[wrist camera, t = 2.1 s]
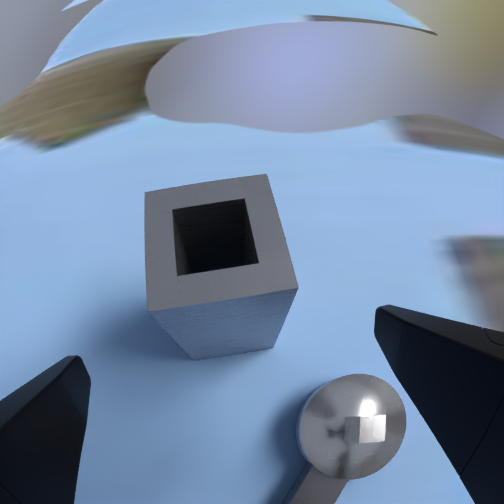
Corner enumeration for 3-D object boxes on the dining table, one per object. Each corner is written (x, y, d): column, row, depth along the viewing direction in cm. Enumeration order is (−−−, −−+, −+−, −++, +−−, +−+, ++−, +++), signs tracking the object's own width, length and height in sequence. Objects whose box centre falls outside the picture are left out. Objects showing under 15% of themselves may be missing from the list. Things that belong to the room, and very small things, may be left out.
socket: (273, 347, 19) (298, 287, 10) (193, 360, 19) (147, 311, 10) (257, 275, 22) (266, 173, 13) (184, 287, 21) (144, 192, 12)
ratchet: (294, 587, 11) (304, 619, 7) (204, 557, 12) (195, 588, 8) (406, 398, 17) (441, 391, 14) (323, 362, 19) (344, 348, 15)
